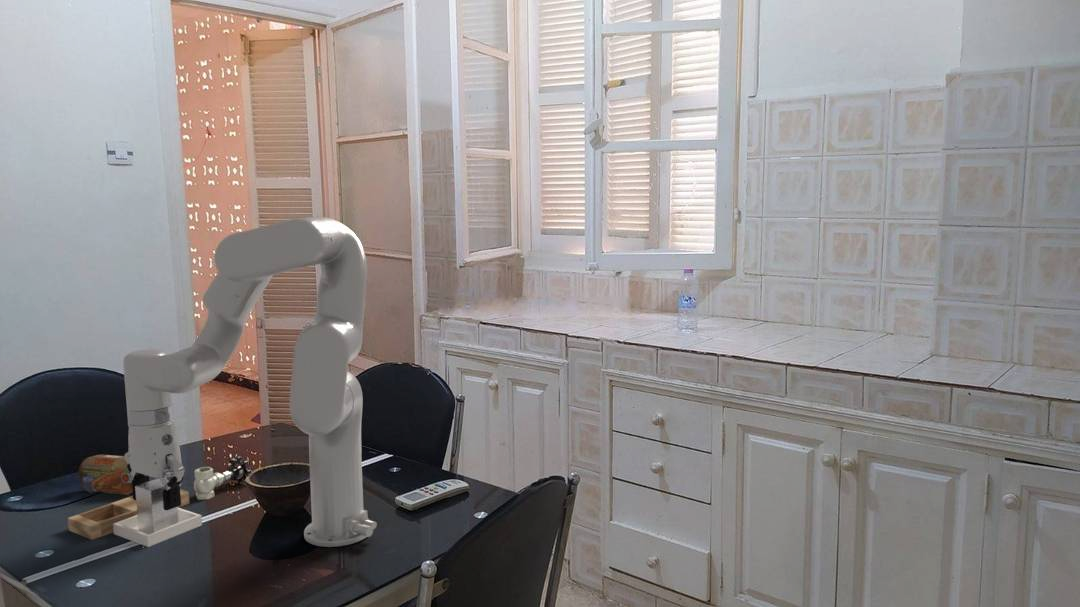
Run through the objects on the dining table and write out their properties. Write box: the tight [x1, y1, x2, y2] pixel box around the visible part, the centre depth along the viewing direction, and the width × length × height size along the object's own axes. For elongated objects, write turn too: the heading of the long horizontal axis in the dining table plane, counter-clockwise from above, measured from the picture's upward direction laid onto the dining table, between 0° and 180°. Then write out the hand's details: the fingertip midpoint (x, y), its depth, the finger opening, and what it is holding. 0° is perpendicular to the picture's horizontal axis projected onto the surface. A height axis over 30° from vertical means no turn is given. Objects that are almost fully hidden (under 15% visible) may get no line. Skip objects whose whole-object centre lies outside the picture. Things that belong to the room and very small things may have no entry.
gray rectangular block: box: [135, 478, 178, 534], centre depth 145 cm, size 5×5×9 cm
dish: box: [113, 507, 203, 548], centre depth 145 cm, size 11×11×2 cm
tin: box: [78, 454, 133, 496], centre depth 165 cm, size 15×3×8 cm, turn 76°
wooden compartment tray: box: [67, 488, 190, 540], centre depth 151 cm, size 8×20×3 cm, turn 149°
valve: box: [193, 455, 252, 501], centre depth 165 cm, size 7×7×12 cm
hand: (156, 502), depth 144 cm, fingers open, 9 cm apart
